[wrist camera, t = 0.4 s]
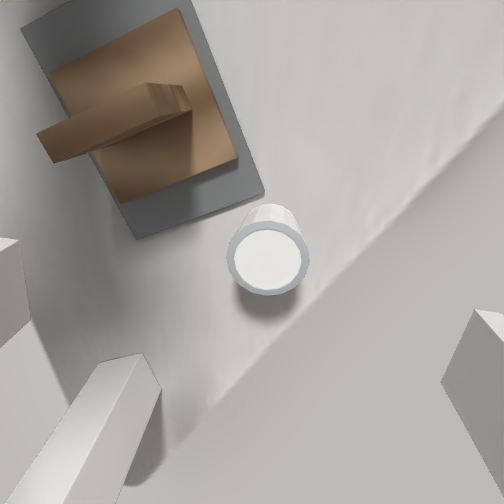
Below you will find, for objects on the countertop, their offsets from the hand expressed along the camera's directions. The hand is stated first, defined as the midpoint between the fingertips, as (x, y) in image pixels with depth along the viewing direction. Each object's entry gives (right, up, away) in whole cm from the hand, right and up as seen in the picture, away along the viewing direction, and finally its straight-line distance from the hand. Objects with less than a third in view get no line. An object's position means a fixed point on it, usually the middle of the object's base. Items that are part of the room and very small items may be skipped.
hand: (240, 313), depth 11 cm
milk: (-15, -14, +35) cm, 40 cm away
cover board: (-9, +14, +21) cm, 27 cm away
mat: (-9, +14, +22) cm, 27 cm away
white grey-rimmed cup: (+2, +4, +26) cm, 26 cm away
